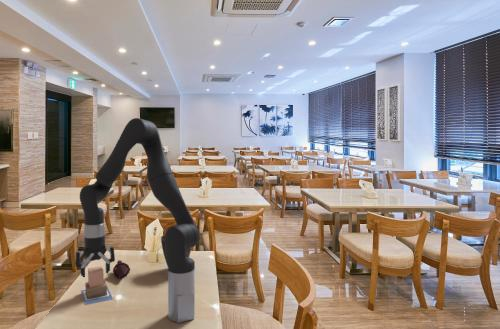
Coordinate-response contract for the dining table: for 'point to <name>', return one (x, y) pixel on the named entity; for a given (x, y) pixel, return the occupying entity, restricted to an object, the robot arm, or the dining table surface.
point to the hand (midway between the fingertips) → (95, 274)
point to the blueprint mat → (97, 299)
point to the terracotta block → (95, 277)
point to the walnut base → (95, 291)
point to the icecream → (121, 269)
